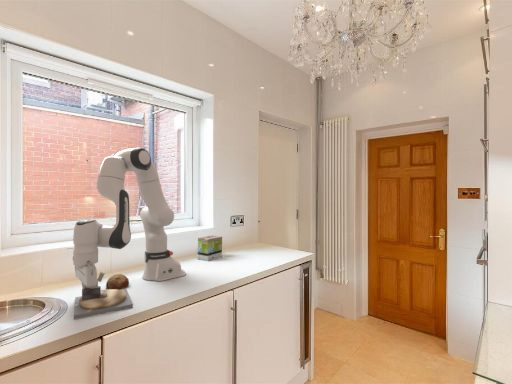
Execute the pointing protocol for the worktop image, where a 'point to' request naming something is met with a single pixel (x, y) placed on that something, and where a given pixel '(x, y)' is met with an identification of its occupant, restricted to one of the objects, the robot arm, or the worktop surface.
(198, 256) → the tea box
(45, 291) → the worktop surface
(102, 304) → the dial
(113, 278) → the bread roll
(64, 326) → the worktop surface
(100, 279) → the lighter
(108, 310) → the dial plate
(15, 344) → the worktop surface
